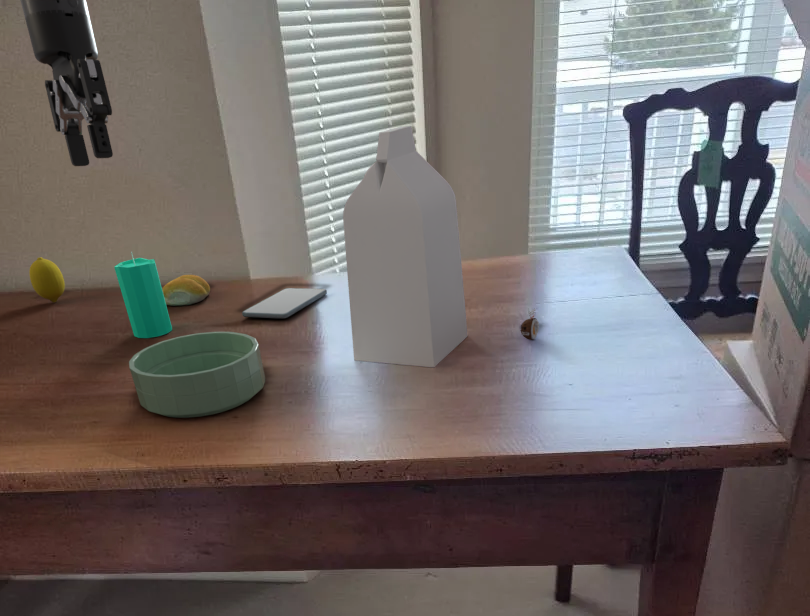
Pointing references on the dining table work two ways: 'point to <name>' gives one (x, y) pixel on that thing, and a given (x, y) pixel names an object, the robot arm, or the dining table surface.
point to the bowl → (198, 374)
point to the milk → (404, 259)
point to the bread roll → (185, 290)
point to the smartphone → (284, 303)
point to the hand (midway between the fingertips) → (92, 162)
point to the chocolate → (530, 327)
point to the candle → (143, 297)
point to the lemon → (47, 279)
